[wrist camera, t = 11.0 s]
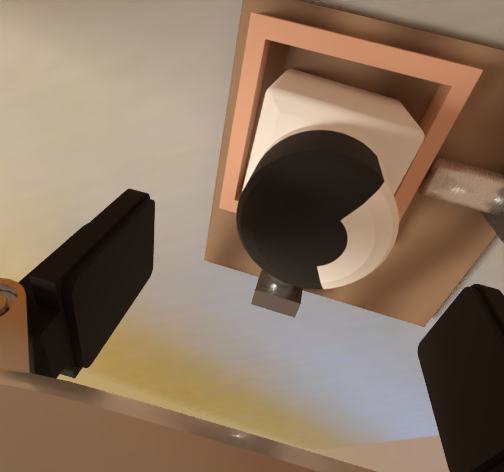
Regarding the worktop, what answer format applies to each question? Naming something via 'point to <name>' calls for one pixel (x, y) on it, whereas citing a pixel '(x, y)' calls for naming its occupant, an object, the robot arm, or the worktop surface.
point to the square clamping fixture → (419, 172)
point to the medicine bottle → (324, 181)
